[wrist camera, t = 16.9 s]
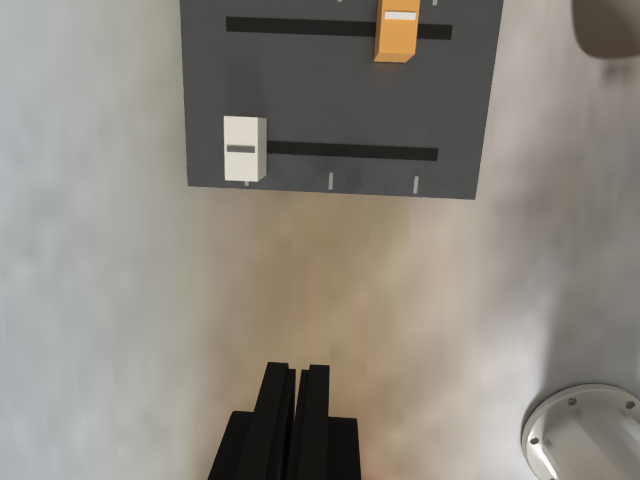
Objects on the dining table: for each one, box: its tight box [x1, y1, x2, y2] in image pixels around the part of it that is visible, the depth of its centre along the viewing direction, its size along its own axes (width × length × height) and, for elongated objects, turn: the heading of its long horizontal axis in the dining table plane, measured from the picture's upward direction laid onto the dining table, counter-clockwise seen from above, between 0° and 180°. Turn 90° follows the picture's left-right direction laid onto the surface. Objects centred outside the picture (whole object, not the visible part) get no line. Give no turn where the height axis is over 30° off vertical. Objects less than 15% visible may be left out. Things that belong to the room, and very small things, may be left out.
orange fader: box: [374, 0, 420, 63], centre depth 29 cm, size 2×4×4 cm, turn 178°
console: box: [180, 0, 504, 200], centre depth 34 cm, size 24×16×2 cm, turn 88°
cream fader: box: [224, 116, 267, 182], centre depth 32 cm, size 2×4×4 cm, turn 178°
